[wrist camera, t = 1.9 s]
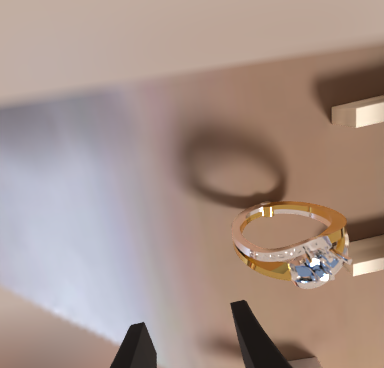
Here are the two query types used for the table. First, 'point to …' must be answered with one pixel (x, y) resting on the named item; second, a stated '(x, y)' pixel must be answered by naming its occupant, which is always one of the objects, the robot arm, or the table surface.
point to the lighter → (305, 363)
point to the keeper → (375, 246)
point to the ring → (296, 245)
